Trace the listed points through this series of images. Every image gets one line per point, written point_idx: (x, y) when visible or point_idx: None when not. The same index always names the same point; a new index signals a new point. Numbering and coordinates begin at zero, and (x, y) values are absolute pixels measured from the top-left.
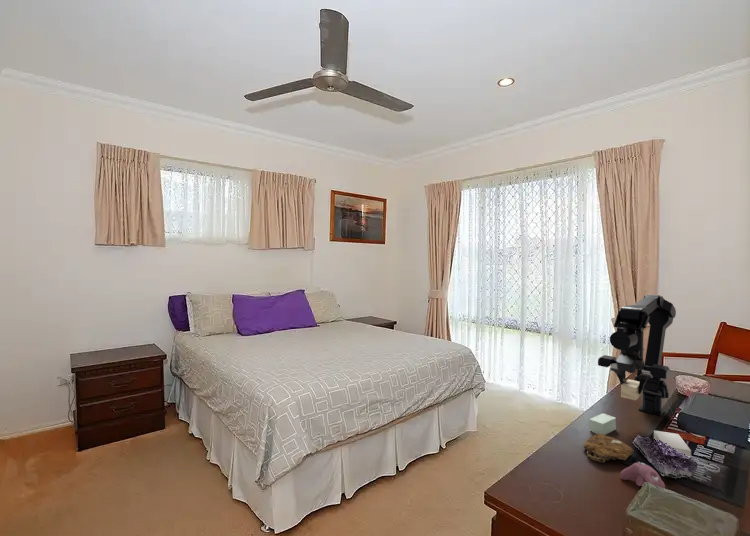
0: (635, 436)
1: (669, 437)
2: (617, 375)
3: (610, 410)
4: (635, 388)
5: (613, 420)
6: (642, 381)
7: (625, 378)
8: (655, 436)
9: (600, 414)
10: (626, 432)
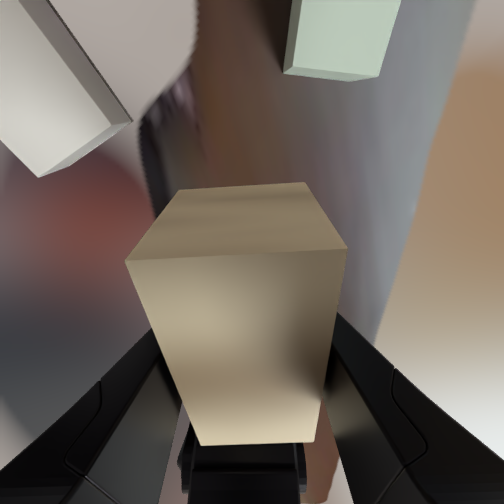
0: (186, 66)
1: (15, 85)
2: (481, 448)
3: (346, 272)
4: (130, 256)
5: (296, 26)
6: (63, 446)
7: (335, 436)
8: (97, 91)
9: (389, 33)
10: (233, 81)
